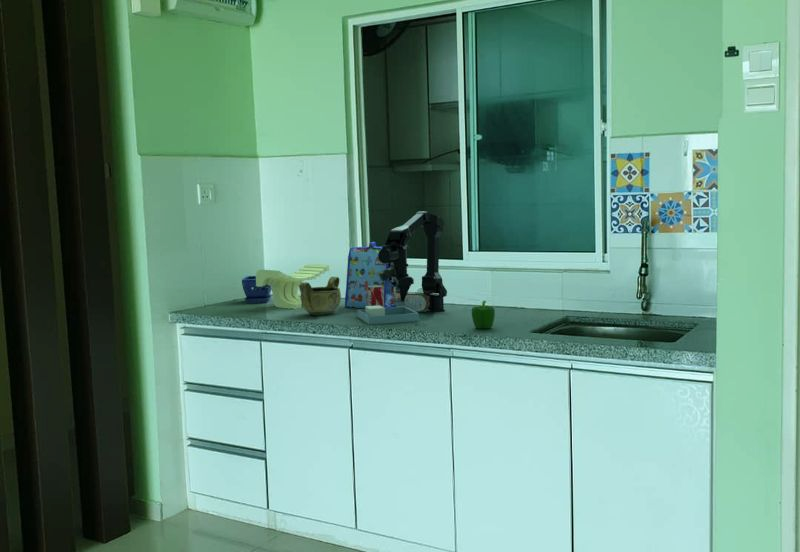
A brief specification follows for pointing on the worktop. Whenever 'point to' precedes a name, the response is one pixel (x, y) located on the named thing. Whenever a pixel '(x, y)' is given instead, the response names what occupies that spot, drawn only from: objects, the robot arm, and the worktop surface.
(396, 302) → the food can
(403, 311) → the teal tray
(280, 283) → the slatted curved stool
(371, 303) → the soda can
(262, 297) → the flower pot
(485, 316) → the bell pepper
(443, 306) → the robot arm
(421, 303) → the tin
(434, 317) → the worktop surface
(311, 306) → the ceramic bowl
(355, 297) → the lunch bag
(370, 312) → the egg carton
